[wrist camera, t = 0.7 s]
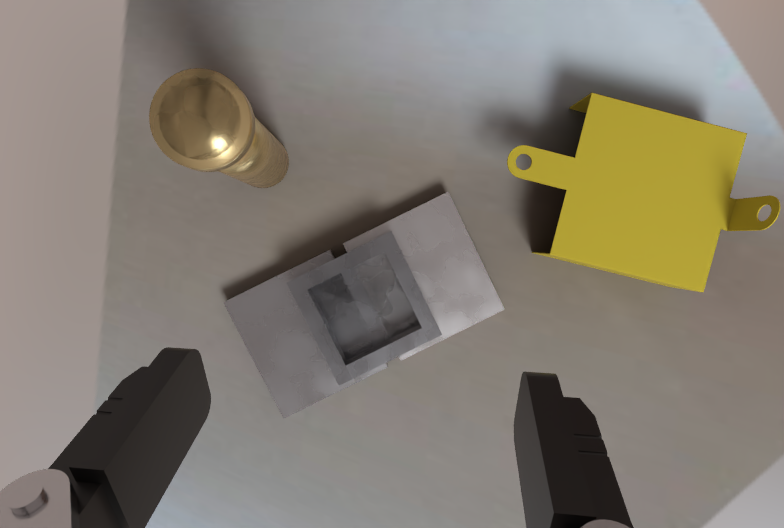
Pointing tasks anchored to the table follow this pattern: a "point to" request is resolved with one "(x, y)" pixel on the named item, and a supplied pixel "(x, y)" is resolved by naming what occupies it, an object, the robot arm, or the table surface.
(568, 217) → the bracket
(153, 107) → the hinge pin
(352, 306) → the grey socket base plate
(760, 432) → the table surface
